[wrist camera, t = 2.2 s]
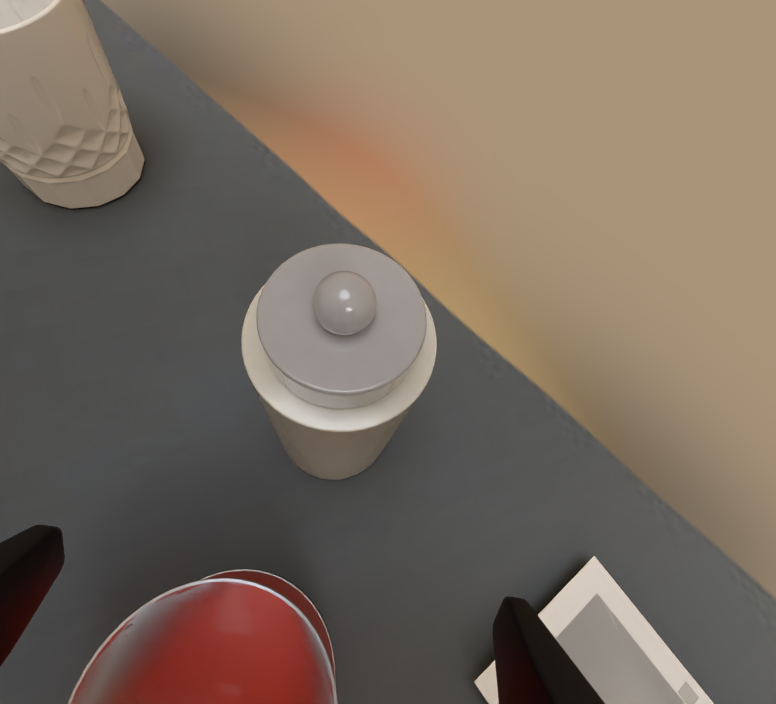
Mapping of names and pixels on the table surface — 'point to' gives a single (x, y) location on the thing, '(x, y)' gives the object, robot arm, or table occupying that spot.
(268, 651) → the sauce tin
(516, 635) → the robot arm
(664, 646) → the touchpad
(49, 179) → the white cup
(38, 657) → the table surface
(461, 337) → the table surface
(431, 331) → the pepper mill
